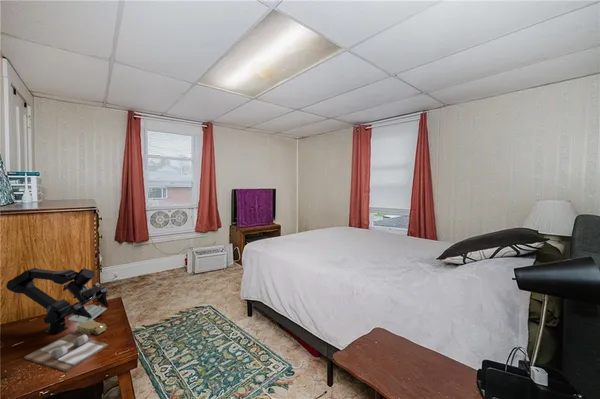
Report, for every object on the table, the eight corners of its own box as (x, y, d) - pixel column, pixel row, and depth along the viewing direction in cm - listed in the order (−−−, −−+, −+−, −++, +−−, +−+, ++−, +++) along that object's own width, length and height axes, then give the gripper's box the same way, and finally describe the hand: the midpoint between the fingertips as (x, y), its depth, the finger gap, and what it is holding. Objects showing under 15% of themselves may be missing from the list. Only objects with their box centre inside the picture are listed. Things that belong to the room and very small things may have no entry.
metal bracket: (90, 300, 152) (110, 305, 149) (92, 308, 154) (112, 313, 151) (64, 318, 139) (86, 323, 136) (67, 326, 141) (88, 332, 138)
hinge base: (24, 358, 110) (24, 347, 110) (69, 335, 128) (70, 326, 127) (67, 371, 105) (67, 360, 105) (107, 346, 123) (108, 336, 123)
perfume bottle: (76, 331, 132) (77, 324, 131) (88, 325, 137) (88, 318, 137) (97, 336, 129) (97, 329, 129) (108, 330, 135) (108, 323, 135)
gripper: (67, 291, 118) (90, 315, 119) (103, 273, 136) (123, 293, 137) (56, 304, 121) (78, 327, 121) (93, 284, 139) (112, 304, 140)
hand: (100, 312), depth 130 cm, fingers open, 9 cm apart
